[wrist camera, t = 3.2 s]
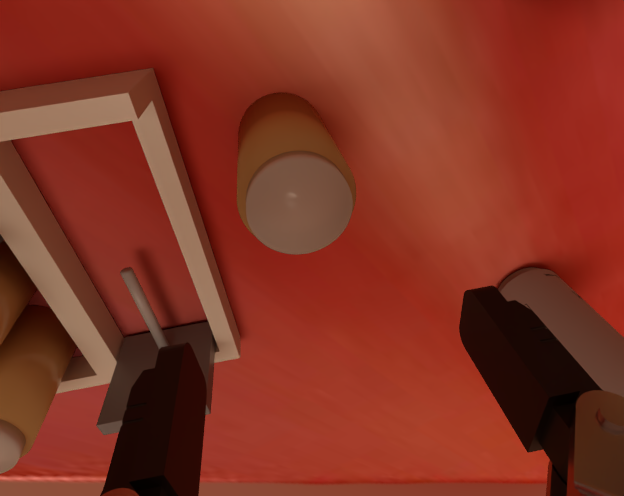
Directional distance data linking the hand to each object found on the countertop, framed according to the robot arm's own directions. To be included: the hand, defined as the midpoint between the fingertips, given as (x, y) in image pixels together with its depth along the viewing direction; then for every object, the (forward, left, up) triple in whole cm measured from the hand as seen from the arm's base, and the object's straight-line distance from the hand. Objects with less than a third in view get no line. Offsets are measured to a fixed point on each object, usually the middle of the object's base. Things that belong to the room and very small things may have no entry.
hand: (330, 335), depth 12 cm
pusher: (+11, -12, -17) cm, 24 cm away
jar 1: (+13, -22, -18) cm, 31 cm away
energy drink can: (+18, +20, -18) cm, 32 cm away
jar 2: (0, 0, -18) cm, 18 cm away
